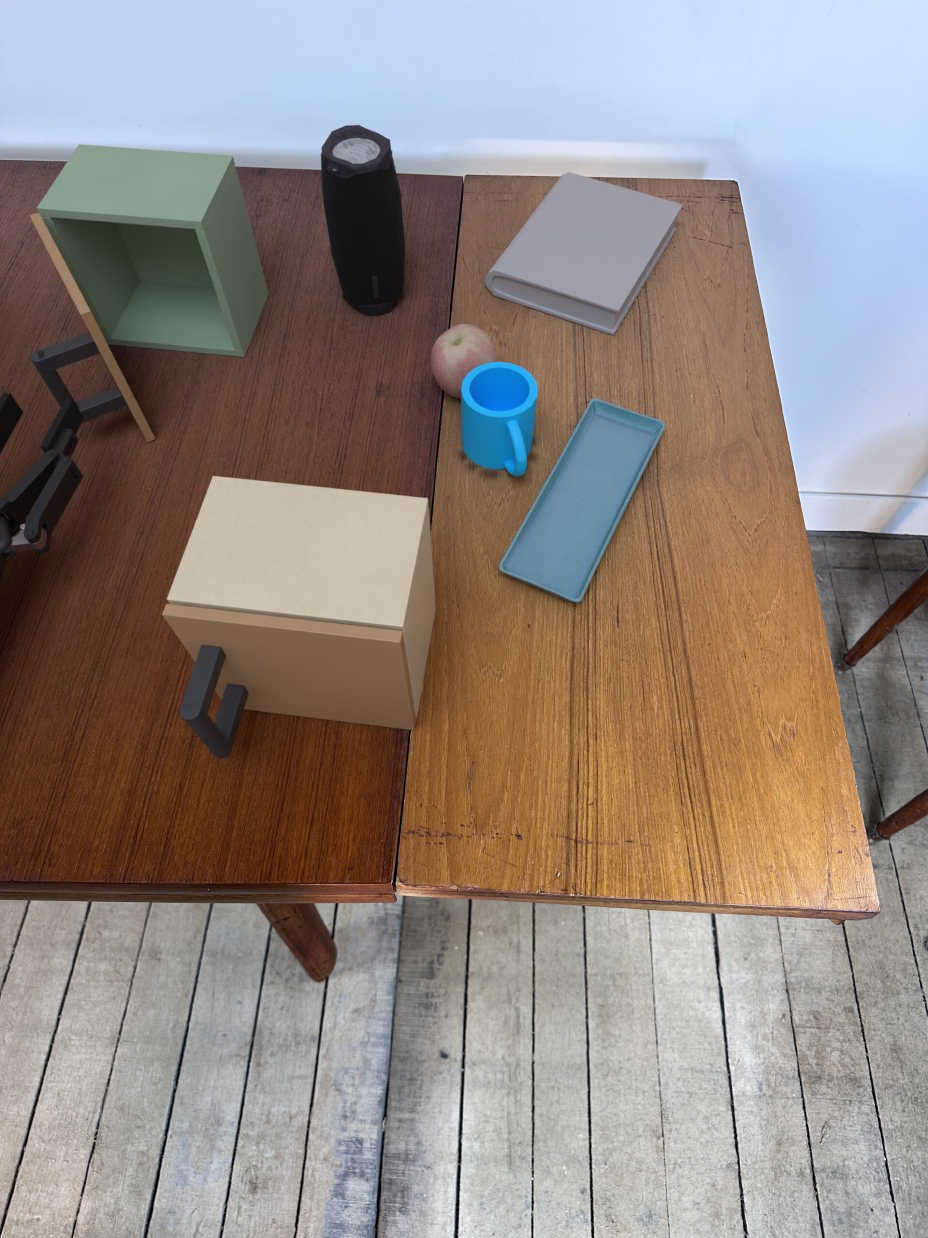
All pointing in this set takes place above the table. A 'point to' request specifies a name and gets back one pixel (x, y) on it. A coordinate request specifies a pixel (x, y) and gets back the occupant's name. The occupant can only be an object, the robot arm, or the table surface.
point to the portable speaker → (364, 217)
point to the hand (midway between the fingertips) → (43, 405)
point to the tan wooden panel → (82, 352)
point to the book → (585, 252)
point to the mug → (498, 416)
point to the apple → (460, 356)
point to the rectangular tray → (582, 500)
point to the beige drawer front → (288, 671)
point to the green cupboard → (159, 247)
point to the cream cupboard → (314, 559)
